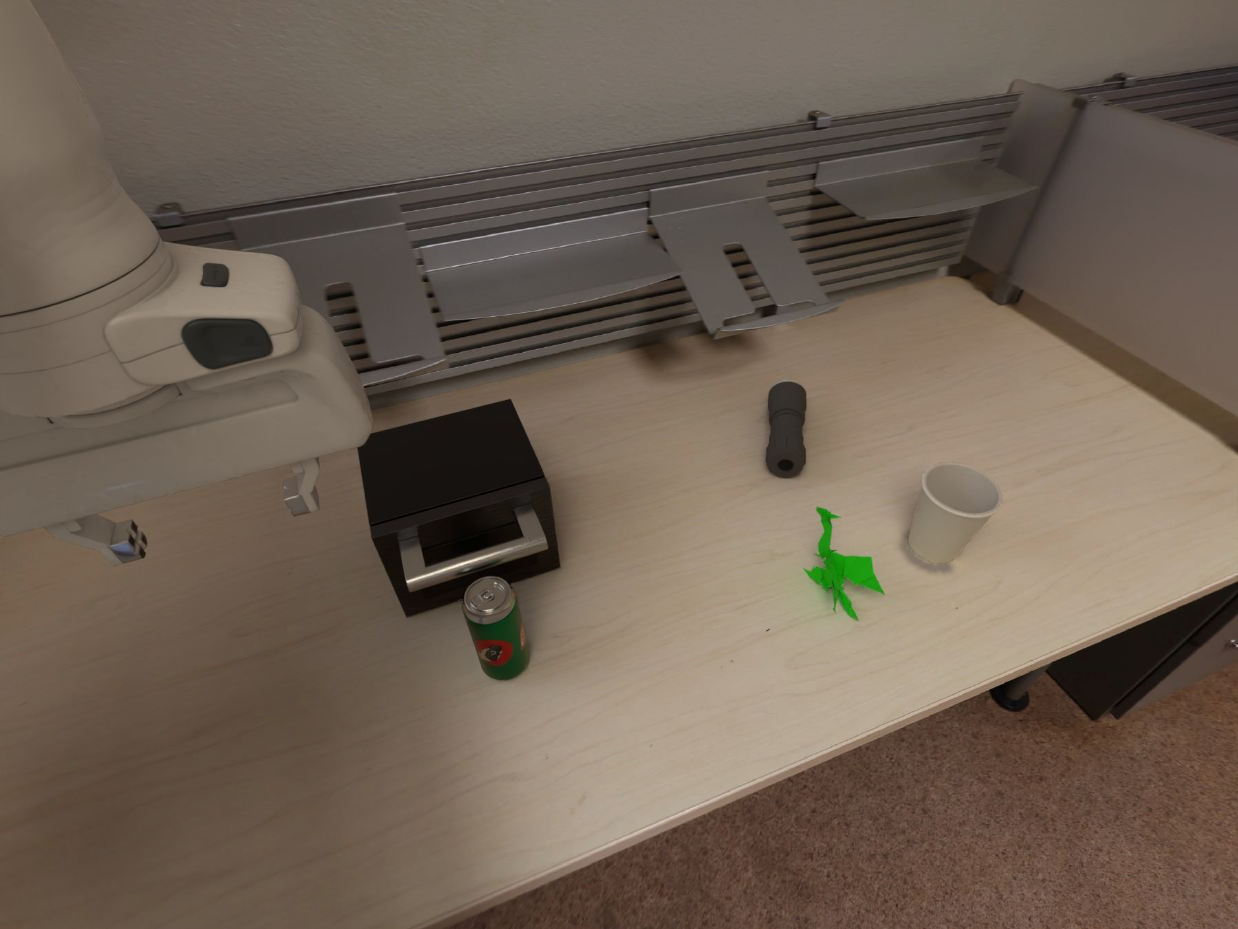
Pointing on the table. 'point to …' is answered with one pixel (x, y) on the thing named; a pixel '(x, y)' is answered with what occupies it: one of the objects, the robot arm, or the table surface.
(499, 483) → the oven
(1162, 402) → the table surface
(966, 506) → the dixie cup
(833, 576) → the figurine
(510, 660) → the soda can
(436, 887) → the table surface
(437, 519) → the oven door
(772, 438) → the flashlight
